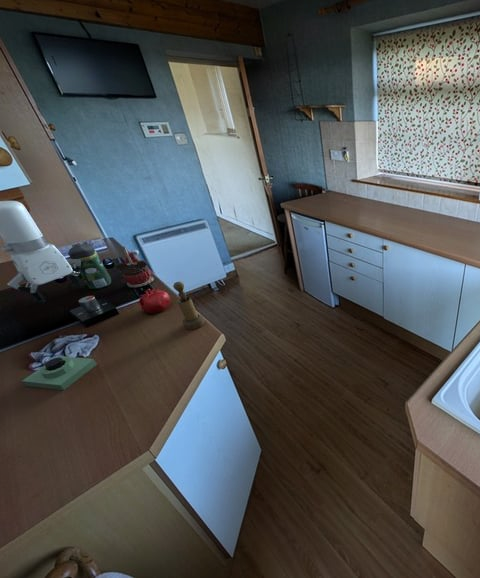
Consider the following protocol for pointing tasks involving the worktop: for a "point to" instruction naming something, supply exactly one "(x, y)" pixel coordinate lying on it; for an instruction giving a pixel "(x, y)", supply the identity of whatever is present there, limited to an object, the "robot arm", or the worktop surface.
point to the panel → (95, 313)
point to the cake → (135, 270)
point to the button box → (60, 374)
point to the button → (54, 363)
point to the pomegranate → (154, 301)
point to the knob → (89, 304)
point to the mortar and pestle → (188, 309)
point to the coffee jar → (90, 266)
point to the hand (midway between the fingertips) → (61, 293)
